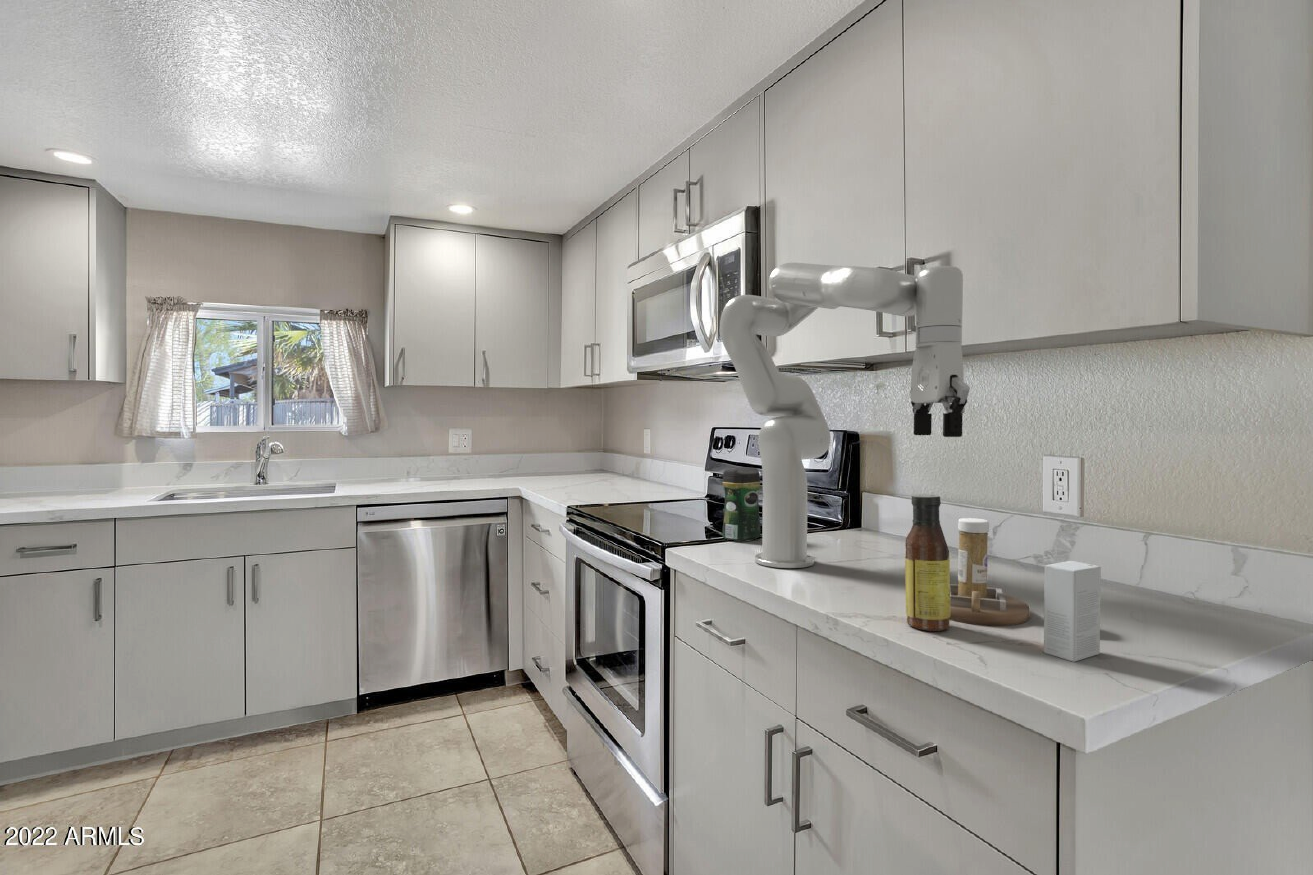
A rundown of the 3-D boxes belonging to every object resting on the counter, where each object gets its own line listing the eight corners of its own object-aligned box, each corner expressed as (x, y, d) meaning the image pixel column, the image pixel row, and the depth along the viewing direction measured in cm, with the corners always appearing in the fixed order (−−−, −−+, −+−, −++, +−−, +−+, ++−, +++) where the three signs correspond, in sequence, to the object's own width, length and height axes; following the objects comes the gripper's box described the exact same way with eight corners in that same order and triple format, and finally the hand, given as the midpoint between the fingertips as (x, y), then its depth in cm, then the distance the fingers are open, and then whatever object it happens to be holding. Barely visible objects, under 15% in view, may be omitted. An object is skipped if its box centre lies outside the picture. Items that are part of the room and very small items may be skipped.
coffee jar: (743, 535, 178) (744, 465, 177) (765, 539, 172) (766, 467, 171) (716, 539, 172) (717, 467, 172) (738, 543, 166) (738, 469, 165)
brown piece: (921, 593, 120) (922, 568, 120) (1023, 603, 114) (1023, 577, 114) (919, 617, 105) (920, 589, 105) (1035, 631, 99) (1036, 600, 99)
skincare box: (1067, 645, 93) (1069, 559, 92) (1100, 655, 89) (1102, 566, 89) (1041, 652, 90) (1043, 564, 90) (1073, 663, 86) (1076, 570, 86)
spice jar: (987, 606, 107) (989, 522, 106) (955, 602, 109) (957, 520, 108) (987, 599, 111) (989, 518, 110) (957, 595, 113) (958, 516, 112)
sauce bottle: (959, 629, 100) (961, 496, 99) (931, 635, 97) (933, 499, 96) (922, 617, 105) (924, 492, 105) (895, 623, 102) (897, 494, 102)
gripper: (894, 343, 126) (893, 434, 126) (945, 332, 109) (943, 437, 109) (932, 344, 127) (930, 434, 127) (988, 333, 110) (986, 437, 110)
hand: (936, 435), depth 118 cm, fingers open, 9 cm apart
